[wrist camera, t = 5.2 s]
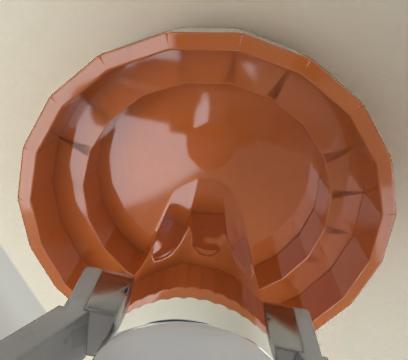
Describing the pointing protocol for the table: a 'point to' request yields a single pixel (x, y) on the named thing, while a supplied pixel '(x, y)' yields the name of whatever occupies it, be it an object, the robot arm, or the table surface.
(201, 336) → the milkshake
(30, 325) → the robot arm
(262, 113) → the bowl
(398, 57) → the table surface
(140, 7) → the table surface
